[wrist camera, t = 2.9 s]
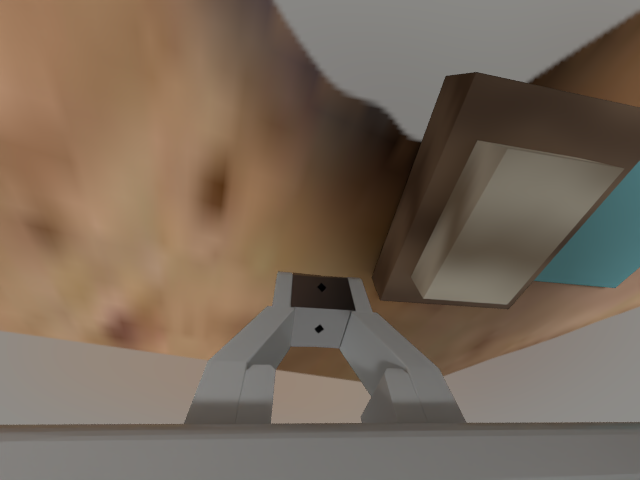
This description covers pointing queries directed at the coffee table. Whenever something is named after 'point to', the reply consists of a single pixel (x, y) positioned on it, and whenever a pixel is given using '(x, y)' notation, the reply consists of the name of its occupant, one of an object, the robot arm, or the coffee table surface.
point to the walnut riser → (506, 129)
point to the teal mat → (603, 242)
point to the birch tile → (506, 221)
